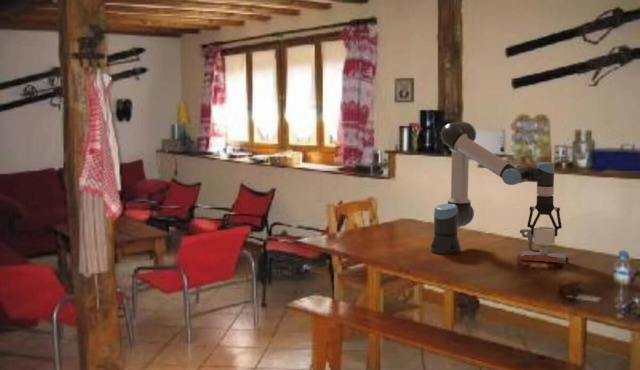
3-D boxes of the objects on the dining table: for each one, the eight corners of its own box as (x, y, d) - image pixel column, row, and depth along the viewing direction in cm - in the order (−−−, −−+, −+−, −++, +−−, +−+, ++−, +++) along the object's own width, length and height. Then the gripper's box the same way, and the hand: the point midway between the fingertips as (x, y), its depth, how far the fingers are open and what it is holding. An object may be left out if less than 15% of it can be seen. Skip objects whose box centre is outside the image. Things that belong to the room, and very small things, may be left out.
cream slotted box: (534, 244, 303) (535, 228, 302) (535, 240, 311) (535, 225, 310) (552, 245, 300) (553, 229, 299) (553, 241, 308) (553, 226, 307)
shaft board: (520, 260, 304) (520, 248, 303) (522, 254, 317) (522, 242, 316) (565, 263, 297) (565, 251, 296) (565, 256, 310) (566, 244, 309)
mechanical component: (541, 250, 324) (541, 230, 323) (519, 249, 326) (520, 230, 325) (540, 248, 327) (540, 229, 326) (519, 248, 329) (519, 229, 328)
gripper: (521, 195, 303) (520, 242, 306) (568, 196, 295) (567, 245, 298) (522, 193, 310) (521, 239, 313) (568, 194, 302) (567, 242, 305)
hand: (544, 242), depth 306 cm, fingers closed on cream slotted box, 8 cm apart
